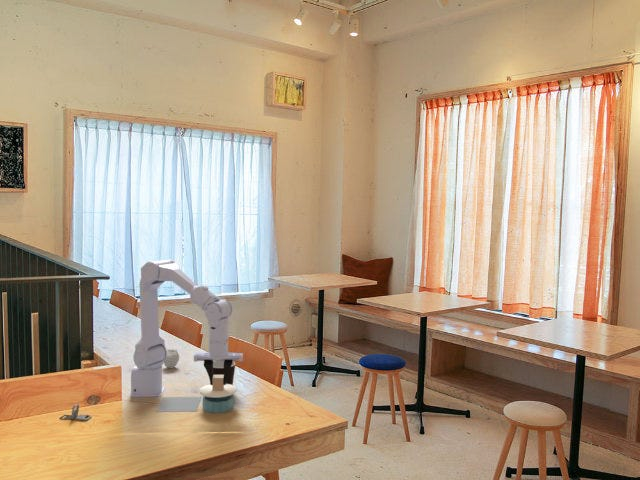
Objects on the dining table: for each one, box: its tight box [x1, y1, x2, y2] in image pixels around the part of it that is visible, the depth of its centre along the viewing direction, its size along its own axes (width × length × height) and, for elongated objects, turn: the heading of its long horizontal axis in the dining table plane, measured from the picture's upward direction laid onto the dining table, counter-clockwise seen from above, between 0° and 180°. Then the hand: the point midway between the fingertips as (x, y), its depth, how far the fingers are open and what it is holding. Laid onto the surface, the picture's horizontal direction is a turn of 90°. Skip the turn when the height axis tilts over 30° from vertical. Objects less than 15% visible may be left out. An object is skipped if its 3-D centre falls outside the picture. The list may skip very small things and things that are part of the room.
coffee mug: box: [213, 361, 236, 386], centre depth 183 cm, size 12×9×10 cm
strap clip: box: [58, 403, 92, 422], centre depth 160 cm, size 8×3×4 cm, turn 84°
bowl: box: [202, 394, 234, 414], centre depth 169 cm, size 9×9×4 cm
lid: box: [199, 375, 237, 398], centre depth 169 cm, size 11×11×5 cm
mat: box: [155, 396, 202, 413], centre depth 171 cm, size 12×12×1 cm
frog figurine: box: [163, 348, 180, 369], centre depth 208 cm, size 6×7×7 cm
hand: (218, 383), depth 169 cm, fingers closed on lid, 3 cm apart
